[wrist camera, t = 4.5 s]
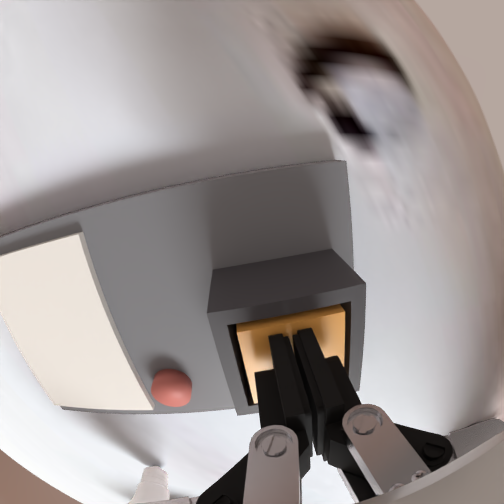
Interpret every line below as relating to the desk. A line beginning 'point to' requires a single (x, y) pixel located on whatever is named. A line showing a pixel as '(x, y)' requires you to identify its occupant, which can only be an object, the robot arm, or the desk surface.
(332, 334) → the button
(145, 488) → the lightbulb
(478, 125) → the desk surface
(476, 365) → the desk surface
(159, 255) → the board
